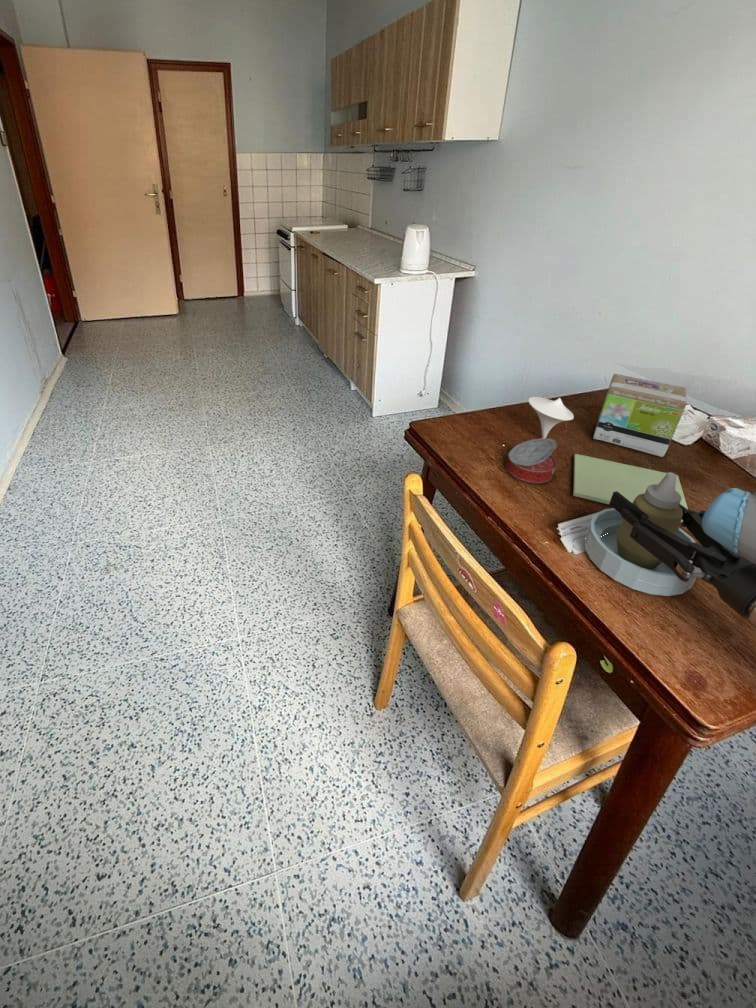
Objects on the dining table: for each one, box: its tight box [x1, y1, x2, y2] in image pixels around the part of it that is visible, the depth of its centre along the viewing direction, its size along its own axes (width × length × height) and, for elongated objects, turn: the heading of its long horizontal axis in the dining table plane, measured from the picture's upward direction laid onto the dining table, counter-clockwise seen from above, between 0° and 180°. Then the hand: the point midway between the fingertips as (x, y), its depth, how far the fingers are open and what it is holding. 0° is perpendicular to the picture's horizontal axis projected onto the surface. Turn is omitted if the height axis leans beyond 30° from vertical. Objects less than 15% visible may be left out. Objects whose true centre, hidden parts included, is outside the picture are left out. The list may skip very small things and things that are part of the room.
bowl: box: [584, 507, 697, 597], centre depth 82 cm, size 16×16×5 cm
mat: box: [572, 453, 689, 523], centre depth 101 cm, size 20×16×1 cm
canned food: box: [505, 437, 558, 484], centre depth 106 cm, size 11×10×10 cm
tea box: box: [592, 373, 687, 458], centre depth 114 cm, size 15×10×15 cm, turn 55°
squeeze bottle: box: [616, 471, 683, 570], centre depth 78 cm, size 8×8×18 cm
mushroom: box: [527, 396, 575, 438], centre depth 115 cm, size 10×11×12 cm
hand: (630, 494), depth 82 cm, fingers closed on squeeze bottle, 6 cm apart
